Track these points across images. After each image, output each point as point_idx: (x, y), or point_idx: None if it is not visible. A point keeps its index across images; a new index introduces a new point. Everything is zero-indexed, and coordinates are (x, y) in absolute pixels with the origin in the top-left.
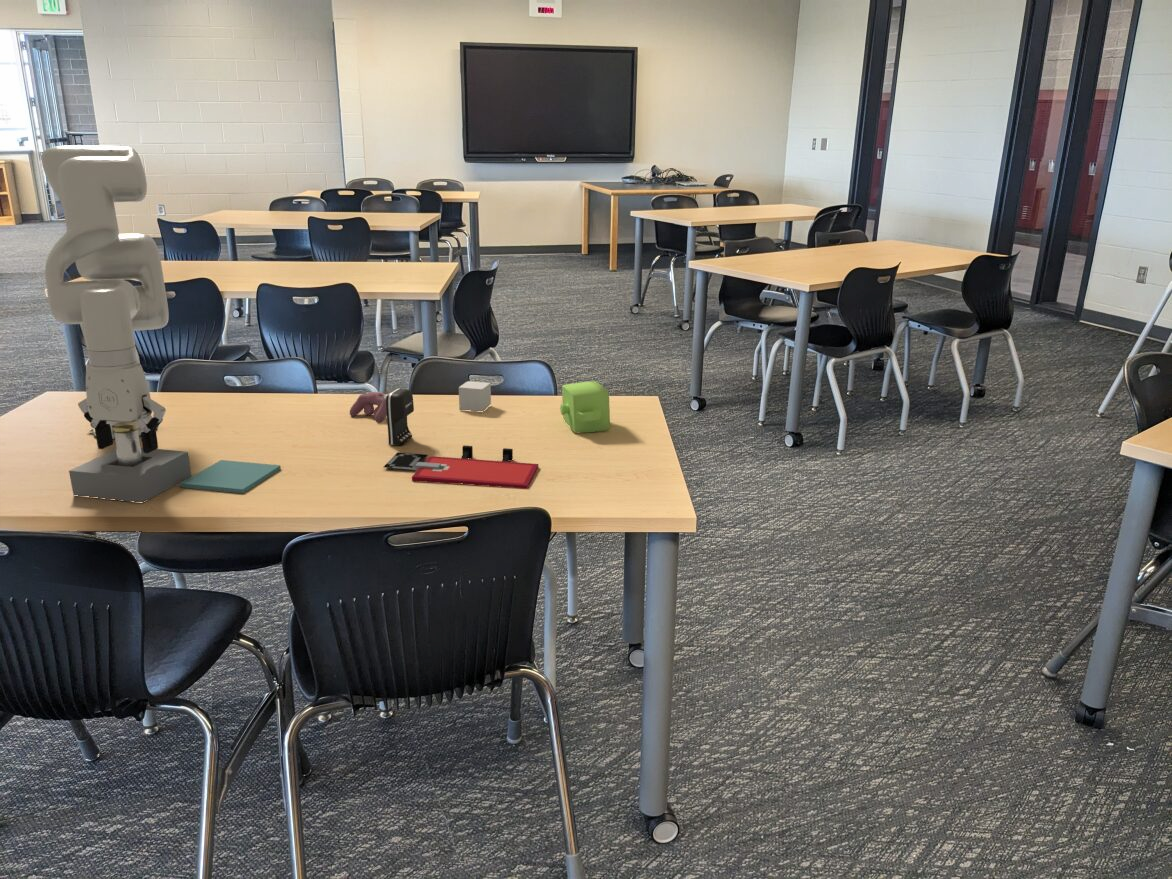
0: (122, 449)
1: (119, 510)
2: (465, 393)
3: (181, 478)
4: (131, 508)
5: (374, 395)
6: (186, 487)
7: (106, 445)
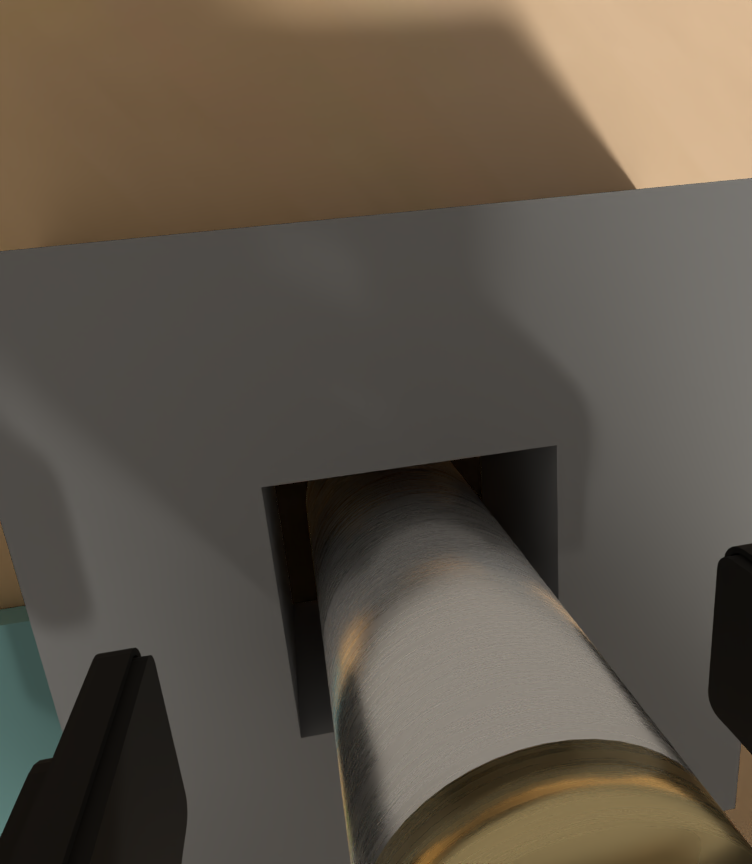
0: (428, 589)
1: (88, 67)
2: None
3: None
4: (32, 138)
5: None
6: (5, 610)
7: (725, 627)
